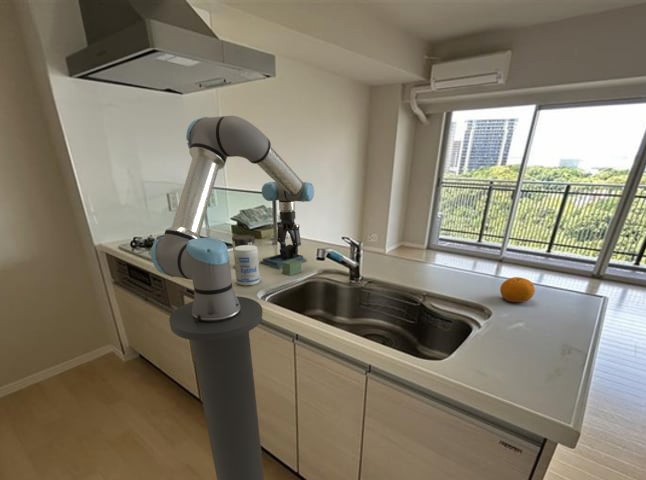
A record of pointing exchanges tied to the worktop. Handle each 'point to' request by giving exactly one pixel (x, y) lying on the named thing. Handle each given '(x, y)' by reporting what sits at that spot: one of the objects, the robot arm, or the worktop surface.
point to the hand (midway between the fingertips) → (289, 257)
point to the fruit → (517, 289)
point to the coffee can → (242, 240)
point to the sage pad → (291, 267)
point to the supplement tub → (246, 265)
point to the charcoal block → (286, 252)
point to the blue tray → (279, 260)
